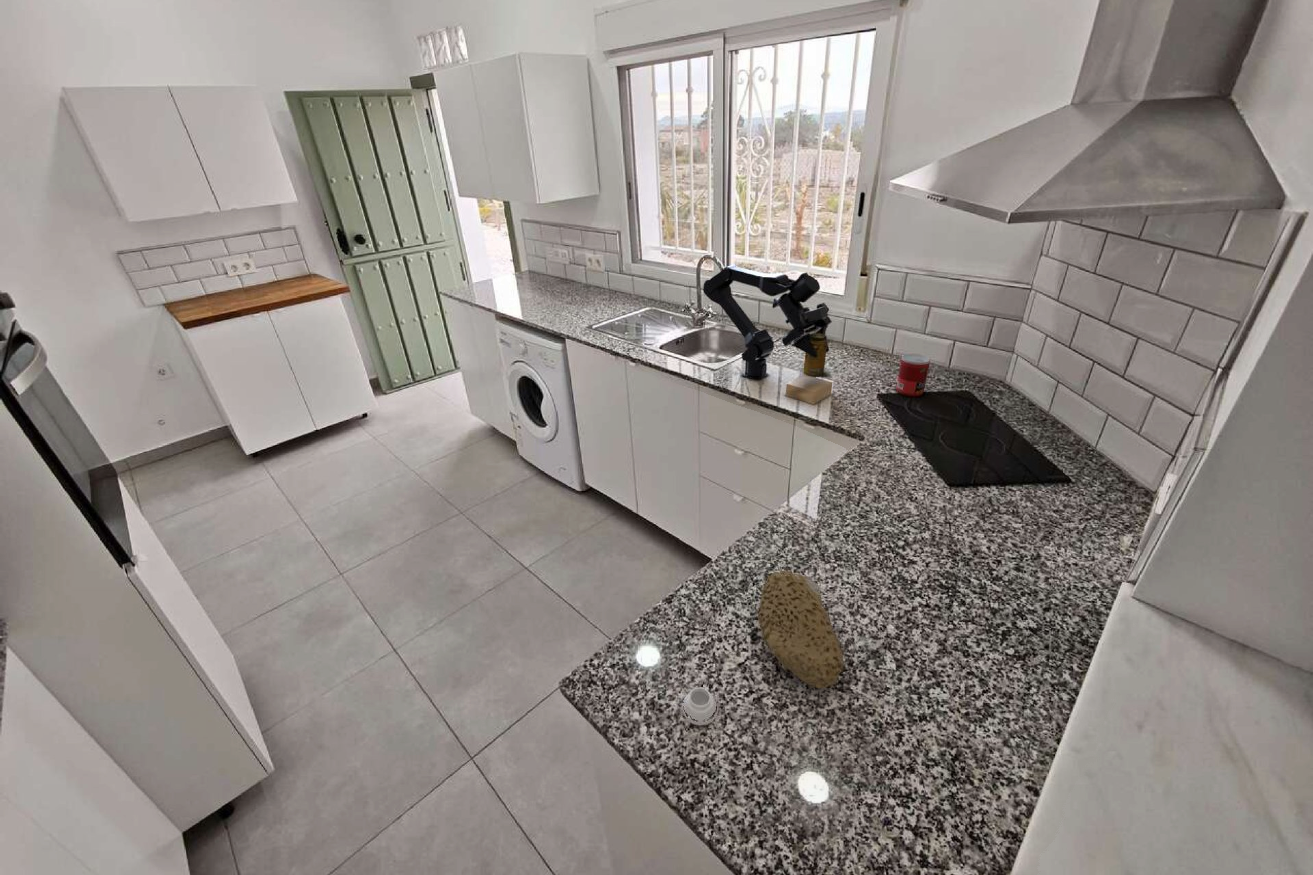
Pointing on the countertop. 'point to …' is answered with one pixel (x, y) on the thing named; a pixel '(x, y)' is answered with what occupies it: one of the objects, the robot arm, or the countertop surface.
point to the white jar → (699, 706)
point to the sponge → (799, 629)
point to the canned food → (913, 374)
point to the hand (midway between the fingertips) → (822, 354)
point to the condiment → (816, 365)
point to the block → (809, 389)
